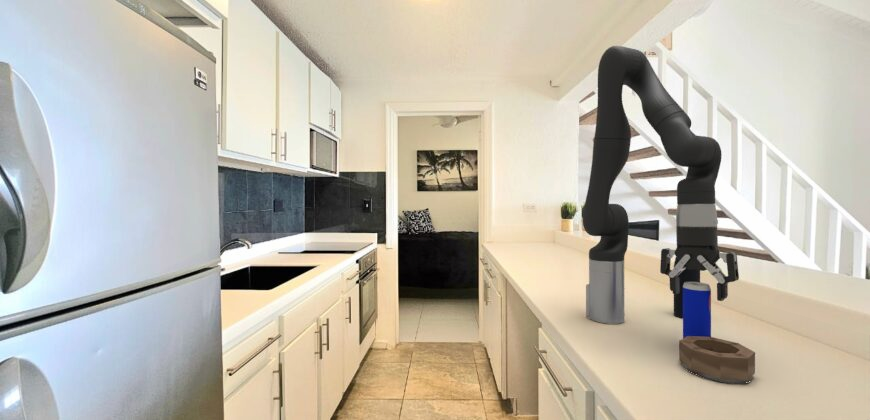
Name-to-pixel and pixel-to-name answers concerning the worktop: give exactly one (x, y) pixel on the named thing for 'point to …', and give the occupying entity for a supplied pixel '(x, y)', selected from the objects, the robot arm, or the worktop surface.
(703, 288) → the beverage can
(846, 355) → the worktop surface
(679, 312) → the wine bottle
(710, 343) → the collar
